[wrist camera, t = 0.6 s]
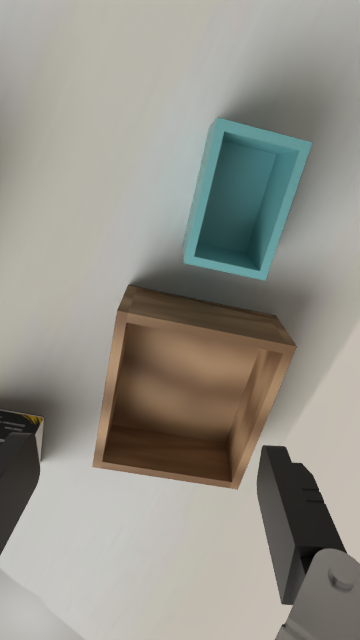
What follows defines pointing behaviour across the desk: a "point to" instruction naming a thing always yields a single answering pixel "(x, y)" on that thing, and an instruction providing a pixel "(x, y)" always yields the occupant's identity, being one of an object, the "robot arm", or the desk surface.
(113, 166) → the desk surface
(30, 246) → the desk surface
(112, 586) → the desk surface
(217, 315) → the walnut crate
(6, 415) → the medicine bottle
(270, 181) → the small teal crate
